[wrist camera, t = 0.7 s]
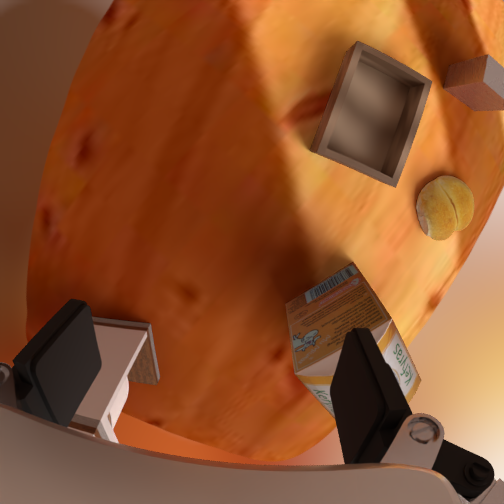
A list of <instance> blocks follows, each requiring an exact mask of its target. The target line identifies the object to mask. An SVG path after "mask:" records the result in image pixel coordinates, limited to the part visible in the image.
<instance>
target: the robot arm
mask: <svg viewBox="0 0 504 504" xmlns="http://www.w3.org/2000/svg"><path fill="white" fill-rule="evenodd" d="M13 363H14V366H13V367H12V368H11V367H10V366H9V365H8V364H6V363H0V504H504V482H503V481H502V480H501V479H498V480H497V481H496V480H494V469H493V467H492V465H491V464H490V463H489V462H488V461H487V460H486V459H484V458H483V457H480V456H478V455H476V454H474V453H472V452H469V451H467V450H465V449H463V448H461V447H458V446H457V445H454V444H452V443H450V442H448V441H446V440H444V439H443V438H444V429H443V426H442V425H441V423H440V422H439V421H438V420H437V419H436V418H434V417H432V416H431V415H428V414H424V413H423V414H422V413H417V414H412V411H411V409H410V407H409V405H408V403H407V400H406V398H405V396H404V394H403V392H402V390H401V387H400V385H399V383H398V381H397V379H396V377H395V375H394V373H393V371H392V369H391V367H390V365H389V364H388V363H386V361H385V359H384V357H383V355H382V353H381V351H380V349H379V347H378V345H377V343H376V341H375V339H374V337H373V335H372V333H371V331H370V329H369V328H353V329H352V330H351V332H347V333H346V336H345V339H344V343H343V346H342V350H341V353H340V357H339V360H338V363H337V367H336V370H335V373H334V376H333V379H332V382H331V386H330V397H331V402H332V406H333V411H334V415H335V420H336V424H337V429H338V434H339V438H340V443H341V447H342V453H343V458H344V462H345V464H342V465H319V466H318V465H317V466H279V465H278V466H277V465H254V464H238V463H228V462H218V461H210V460H202V459H194V458H188V457H181V456H175V455H169V454H164V453H159V452H153V451H148V450H144V449H140V448H136V447H131V446H127V445H123V444H119V443H116V442H112V441H108V440H104V439H101V438H98V437H94V436H91V435H88V434H84V433H81V432H78V431H75V430H72V429H69V428H67V427H68V425H69V424H70V422H71V420H72V418H73V416H74V415H75V413H76V411H77V409H78V407H79V406H80V404H81V402H82V400H83V399H84V397H85V395H86V393H87V392H88V390H89V388H90V387H91V385H92V383H93V381H94V380H95V378H96V376H97V375H98V373H99V371H100V370H101V367H102V360H101V356H100V352H99V347H98V343H97V339H96V334H95V329H94V324H93V319H92V314H91V309H90V307H89V306H88V305H87V303H86V302H85V301H81V300H76V299H71V300H69V301H68V302H67V303H66V304H65V305H64V306H63V307H62V308H61V309H60V310H59V311H58V312H57V313H56V314H55V315H54V316H53V317H52V318H51V319H50V320H49V321H48V322H47V324H46V325H45V326H44V327H43V328H42V329H41V330H40V331H39V332H38V333H37V334H36V335H35V336H34V337H33V338H32V339H31V341H30V342H29V343H28V344H27V345H26V346H25V347H24V348H23V349H22V351H20V353H19V354H18V355H17V356H16V357H15V358H14V360H13Z"/></svg>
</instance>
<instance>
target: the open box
mask: <svg viewBox="0 0 504 504" xmlns="http://www.w3.org/2000/svg"><path fill="white" fill-rule="evenodd" d="M431 84H432V81H431V80H429V79H428V78H426V77H424V76H423V75H421V74H419V73H418V72H416V71H414V70H413V69H411V68H409V67H408V66H406V65H404V64H402V63H400V62H399V61H397V60H395V59H393V58H391V57H389V56H388V55H386V54H384V53H382V52H380V51H378V50H376V49H374V48H372V47H370V46H368V45H366V44H364V43H361V42H359V41H357V42H356V43H355V44H354V45H353V46H352V47H351V48H350V49H349V50H348V51H346V54H345V57H344V59H343V62H342V65H341V68H340V70H339V73H338V76H337V79H336V81H335V84H334V87H333V90H332V92H331V95H330V98H329V100H328V103H327V106H326V109H325V111H324V114H323V117H322V119H321V122H320V125H319V127H318V130H317V133H316V135H315V138H314V141H313V143H312V146H311V149H310V151H311V152H313V153H316V154H318V155H321V156H323V157H326V158H328V159H331V160H333V161H335V162H338V163H340V164H342V165H345V166H347V167H349V168H352V169H354V170H356V171H358V172H361V173H363V174H365V175H367V176H369V177H372V178H374V179H376V180H378V181H380V182H383V183H385V184H388V185H390V186H393V187H395V188H396V186H397V183H398V181H399V178H400V176H401V173H402V170H403V168H404V165H405V163H406V160H407V157H408V154H409V152H410V149H411V146H412V143H413V140H414V138H415V135H416V132H417V129H418V126H419V123H420V120H421V117H422V114H423V110H424V107H425V104H426V101H427V98H428V94H429V91H430V87H431Z"/></svg>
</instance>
